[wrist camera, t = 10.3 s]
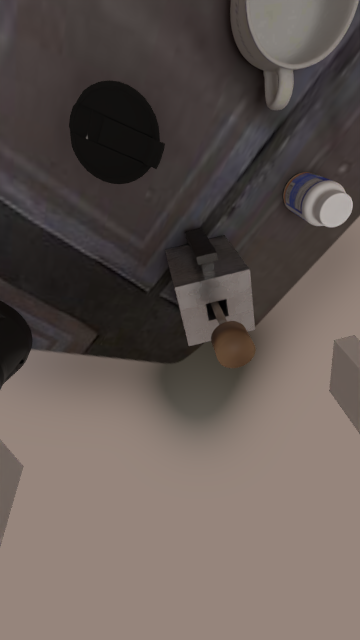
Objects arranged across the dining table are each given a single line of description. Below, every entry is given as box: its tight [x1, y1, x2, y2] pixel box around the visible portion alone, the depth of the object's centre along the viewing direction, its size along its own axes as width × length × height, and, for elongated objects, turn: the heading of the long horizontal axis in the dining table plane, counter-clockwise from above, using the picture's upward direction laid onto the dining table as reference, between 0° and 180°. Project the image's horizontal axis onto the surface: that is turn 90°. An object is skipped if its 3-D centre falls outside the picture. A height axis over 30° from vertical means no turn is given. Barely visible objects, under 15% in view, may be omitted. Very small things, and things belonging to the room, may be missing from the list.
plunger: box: [210, 301, 255, 368], centre depth 41 cm, size 7×7×18 cm
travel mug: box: [69, 81, 165, 184], centre depth 30 cm, size 6×7×20 cm
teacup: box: [230, 0, 359, 110], centre depth 32 cm, size 14×11×8 cm
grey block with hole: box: [165, 228, 255, 346], centre depth 44 cm, size 9×11×12 cm
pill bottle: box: [283, 172, 353, 227], centre depth 42 cm, size 5×5×10 cm
